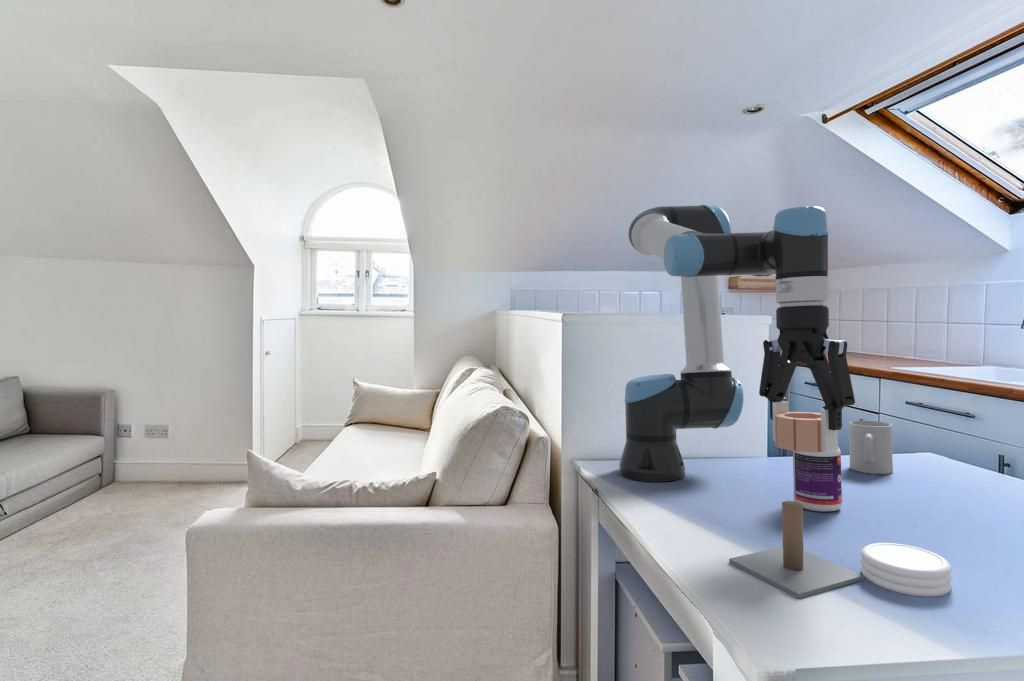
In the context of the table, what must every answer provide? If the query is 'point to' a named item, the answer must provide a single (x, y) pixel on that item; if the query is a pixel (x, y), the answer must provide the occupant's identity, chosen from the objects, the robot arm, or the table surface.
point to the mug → (871, 447)
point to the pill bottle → (818, 480)
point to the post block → (795, 561)
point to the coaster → (906, 569)
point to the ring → (798, 431)
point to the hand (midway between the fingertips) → (804, 444)
